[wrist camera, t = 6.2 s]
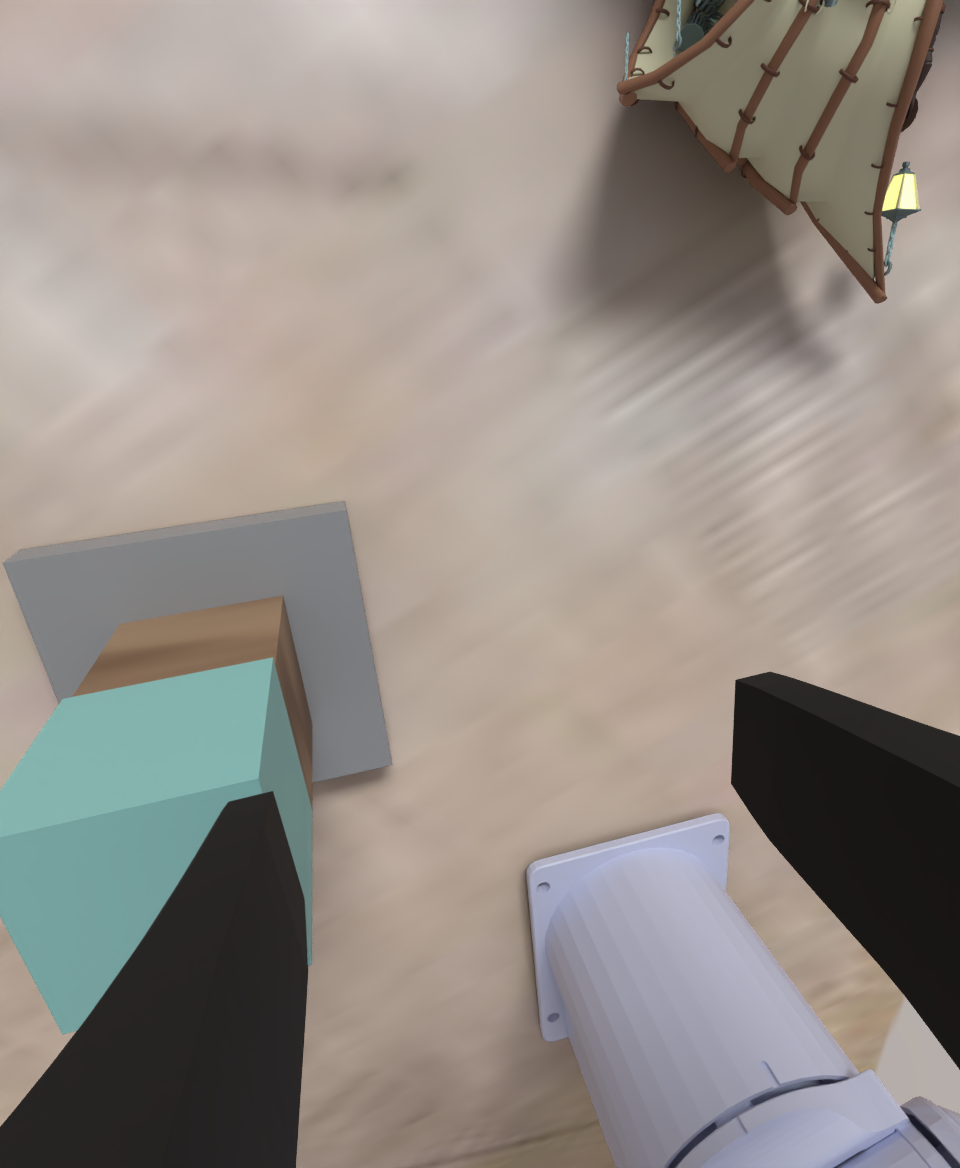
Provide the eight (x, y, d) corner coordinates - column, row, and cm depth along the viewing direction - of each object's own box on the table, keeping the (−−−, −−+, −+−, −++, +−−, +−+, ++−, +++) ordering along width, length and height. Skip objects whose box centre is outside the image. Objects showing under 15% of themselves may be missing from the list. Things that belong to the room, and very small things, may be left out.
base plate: (388, 745, 21) (392, 764, 20) (119, 805, 19) (109, 829, 18) (344, 500, 18) (346, 510, 17) (20, 550, 16) (2, 563, 15)
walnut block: (312, 723, 19) (312, 818, 15) (164, 754, 18) (127, 862, 14) (283, 595, 17) (275, 666, 14) (120, 623, 16) (65, 707, 13)
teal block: (312, 810, 15) (311, 964, 11) (126, 855, 14) (62, 1034, 11) (272, 657, 13) (258, 778, 10) (62, 698, 13) (-38, 845, 9)
